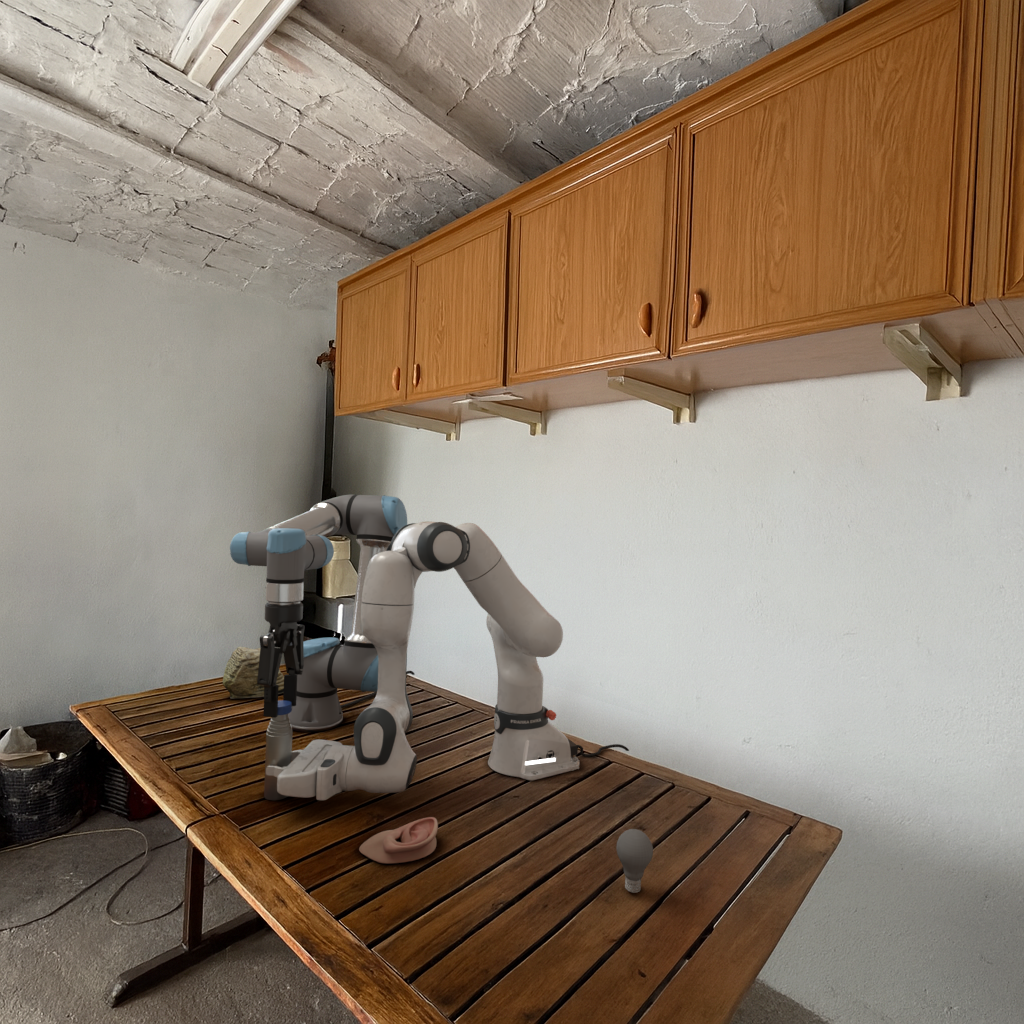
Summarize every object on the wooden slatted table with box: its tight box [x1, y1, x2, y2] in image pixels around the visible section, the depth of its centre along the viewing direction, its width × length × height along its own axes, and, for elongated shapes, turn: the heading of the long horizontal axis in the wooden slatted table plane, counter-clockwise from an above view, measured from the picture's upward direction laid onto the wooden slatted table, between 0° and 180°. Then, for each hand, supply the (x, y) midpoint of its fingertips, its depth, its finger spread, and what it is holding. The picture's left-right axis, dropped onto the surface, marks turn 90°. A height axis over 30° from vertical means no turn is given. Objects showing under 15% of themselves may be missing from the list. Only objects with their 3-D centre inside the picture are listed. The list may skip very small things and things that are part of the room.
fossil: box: [222, 646, 284, 699], centre depth 198 cm, size 9×18×15 cm, turn 132°
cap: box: [278, 699, 292, 715], centre depth 134 cm, size 4×4×2 cm
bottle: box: [263, 714, 293, 801], centre depth 134 cm, size 5×5×19 cm
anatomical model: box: [358, 816, 439, 864], centre depth 116 cm, size 13×4×12 cm
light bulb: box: [615, 828, 654, 894], centre depth 106 cm, size 6×6×10 cm
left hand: (280, 710), depth 134 cm, fingers open, 7 cm apart
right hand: (274, 762), depth 134 cm, fingers closed on bottle, 5 cm apart
